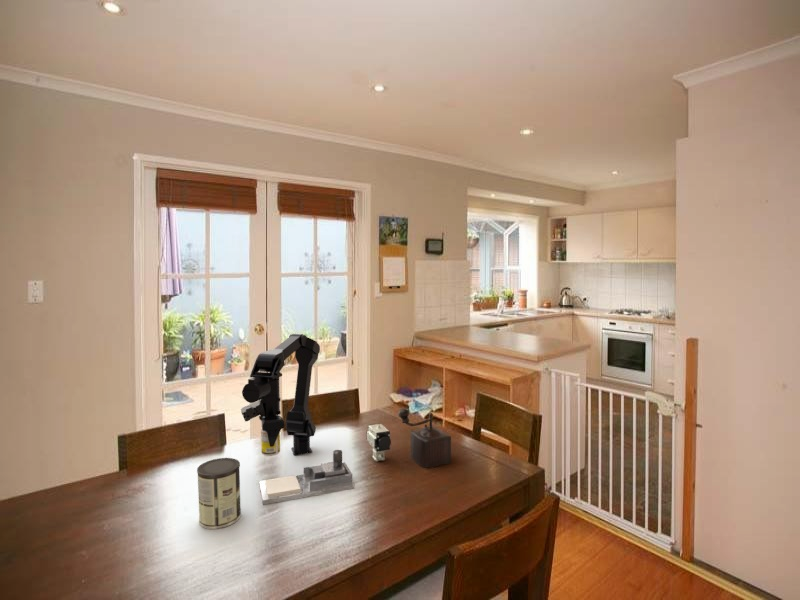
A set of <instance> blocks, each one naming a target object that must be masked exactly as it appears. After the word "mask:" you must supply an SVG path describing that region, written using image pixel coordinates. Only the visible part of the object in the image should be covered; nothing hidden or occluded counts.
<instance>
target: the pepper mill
mask: <svg viewBox="0 0 800 600" xmlns="http://www.w3.org/2000/svg"><path fill="white" fill-rule="evenodd" d="M397 414H398V417H399V418H400V419H401V423H402V424H406V425H408V426H410V427H417V426H421V425H423V424H425V425H424V427H422V428H419V429H418V430H417V429H416V430H412V431H410V456H409V457H410V458H411V459H412V461H413V460H414V462H415V463H416V464H417V465H418V466H419V465H420V466H419V467H421V468H422V469H424V468H427V469H432V467H433V468H438V467H441V465H442V466H446V465H449V464H451V463H452V436H451V435H449V434H448V433H446V432H445V431H443V430H442V429H440V428H438V427H436V426H433V420H434V414H433V413H432V412H430V413H428V418H427V419H425V420H422V421H420V422H419V421H418V422H415V423H413V422H410V419H409V415H410V411H409V409H407V408H405V407H404V408H401V409H400V410H398V412H397ZM428 422H429V426H428V424H426V423H428Z"/></svg>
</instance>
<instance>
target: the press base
mask: <svg viewBox="0 0 800 600" xmlns="http://www.w3.org/2000/svg"><path fill="white" fill-rule="evenodd" d="M342 465H343V467H344V468H345V475H339V476H333V477H327V478H321V479H315V480H313V478H312V468H313V467H319V466H321V464H319V465H313V466H307V467H306V466H305V467H303V474H298V475H296V478H297V480H298V483H299V486H300V492H294V493H288V494H282V495H277V496H271V497H268V495H267V490H266V485H265V480H260V481H259V489H260V495H261V501H262V505H268V504H274V503H280V502H286V501H287V502H288V501H290V500H297V499H298V500H299V499H302V498H309V497H314V496H320V495H325V494H330V493H336V492H337V493H338V492H343V491H346V490H348V491H349V490H353V489H355V484H354V482H353V481H354V480H353V473H352V471H351V470H350V468H349V467H348V464H347V463H346V462H345V461H344V462H343V461H342Z"/></svg>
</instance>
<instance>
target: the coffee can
mask: <svg viewBox="0 0 800 600" xmlns="http://www.w3.org/2000/svg"><path fill="white" fill-rule="evenodd" d="M240 467H241V463H240V461H239V460H238V459H236V458H231V457H220V458H215V459H210V460H208V461H205V462H203V463H201V464H200V465H199V466H198V467H197V469H196V474H197V487H198V488H197V491H198V513H199V517H198V518H199V520H198V523H199V526H200V527H202V528H205V529H207V528H208V529H209V530H218V528H219V529H223V528H226V526H227V527H229V526H232V525H233V524H235V523H236V522H238V520H239V519H240V518H241V516H242V511H241V510H242V509H241V487H240V486H241V479H240Z"/></svg>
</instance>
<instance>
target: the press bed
mask: <svg viewBox="0 0 800 600" xmlns="http://www.w3.org/2000/svg"><path fill="white" fill-rule="evenodd" d="M296 476H297V475H296V474H295V475H288V476H281V477H278V478H277V477H276V478H270V479H265V480H264V481H265V485H266V490H267V495H268V497H271V496H277V495H282V494H288V493H294V492H300V486H299V483H298V480H297V478H296Z"/></svg>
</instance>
